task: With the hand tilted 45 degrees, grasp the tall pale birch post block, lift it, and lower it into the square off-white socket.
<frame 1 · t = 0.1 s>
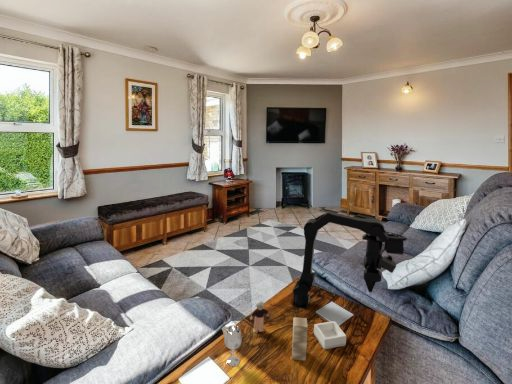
hand: (370, 286, 118), 15 cm above the table, tool pointing down, fingers open, 9 cm apart
wineglass: (233, 361, 97), on the table
birch post block: (298, 355, 100), on the table
post socket: (329, 339, 108), on the table
grandmother figurine: (259, 330, 112), on the table
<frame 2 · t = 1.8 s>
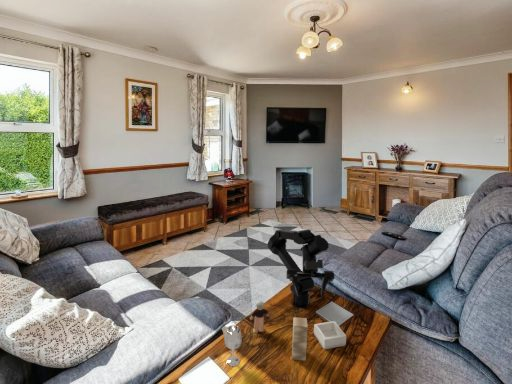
hand: (310, 297, 111), 13 cm above the table, tool tilted 45°, fingers open, 9 cm apart
nothing on the table moved.
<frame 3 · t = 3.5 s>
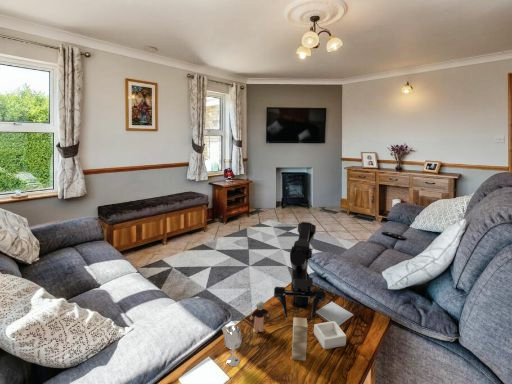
hand: (299, 318, 102), 11 cm above the table, tool tilted 45°, fingers open, 9 cm apart
nothing on the table moved.
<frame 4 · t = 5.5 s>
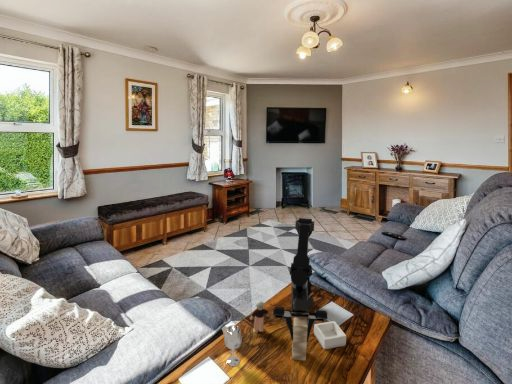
hand: (299, 341, 97), 7 cm above the table, tool tilted 45°, fingers closed on birch post block, 4 cm apart
birch post block: (298, 355, 100), on the table, touching gripper
everything else where it was.
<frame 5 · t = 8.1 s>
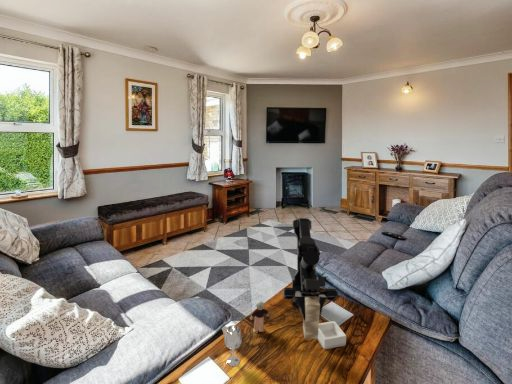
hand: (311, 320, 97), 14 cm above the table, tool tilted 45°, fingers closed on birch post block, 4 cm apart
birch post block: (310, 334, 100), point 7 cm above the table, touching gripper
everything else where it was.
when the fingers open (9 cm above the table, at t = 10.8 s): birch post block drops 1 cm, resting on post socket.
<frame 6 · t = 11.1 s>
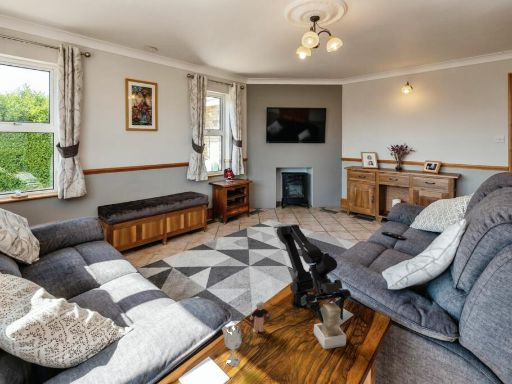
hand: (332, 321, 105), 9 cm above the table, tool tilted 45°, fingers open, 7 cm apart
birch post block: (329, 337, 107), point 1 cm above the table, touching post socket
everything else where it was.
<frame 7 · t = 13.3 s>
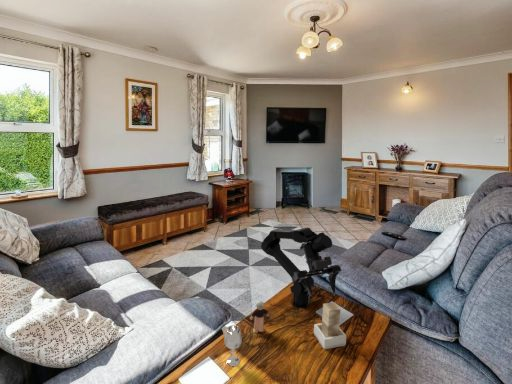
hand: (323, 294, 113), 14 cm above the table, tool tilted 40°, fingers open, 9 cm apart
nothing on the table moved.
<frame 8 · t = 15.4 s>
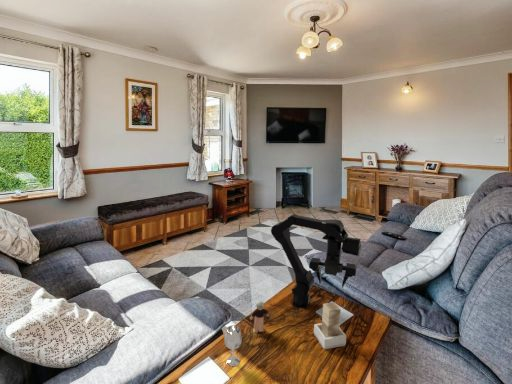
hand: (331, 285, 121), 13 cm above the table, tool pointing down, fingers open, 9 cm apart
nothing on the table moved.
at the end: birch post block 0.0 cm off-centre on the post socket, point 0.8 cm above the post socket's base; birch post block tilted 0°; the gripper is holding nothing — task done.
